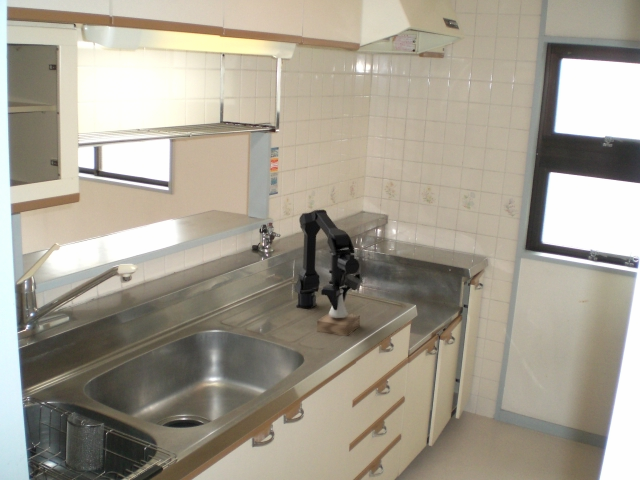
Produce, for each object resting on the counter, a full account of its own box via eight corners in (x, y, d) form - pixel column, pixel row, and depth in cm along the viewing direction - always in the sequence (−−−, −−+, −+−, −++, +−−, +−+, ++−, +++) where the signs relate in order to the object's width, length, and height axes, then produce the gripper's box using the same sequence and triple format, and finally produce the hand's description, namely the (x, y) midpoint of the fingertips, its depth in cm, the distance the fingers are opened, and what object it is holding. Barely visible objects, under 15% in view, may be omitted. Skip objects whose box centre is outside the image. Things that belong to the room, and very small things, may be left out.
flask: (335, 320, 254) (335, 293, 252) (325, 314, 260) (325, 288, 258) (352, 316, 257) (352, 290, 255) (341, 311, 263) (342, 285, 261)
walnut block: (317, 330, 257) (317, 320, 256) (331, 321, 267) (331, 311, 267) (346, 335, 252) (346, 325, 251) (359, 325, 262) (359, 315, 261)
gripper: (348, 276, 243) (348, 318, 246) (369, 263, 259) (368, 303, 263) (320, 272, 248) (320, 313, 251) (342, 260, 264) (341, 299, 267)
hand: (338, 307), depth 258 cm, fingers closed on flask, 5 cm apart
